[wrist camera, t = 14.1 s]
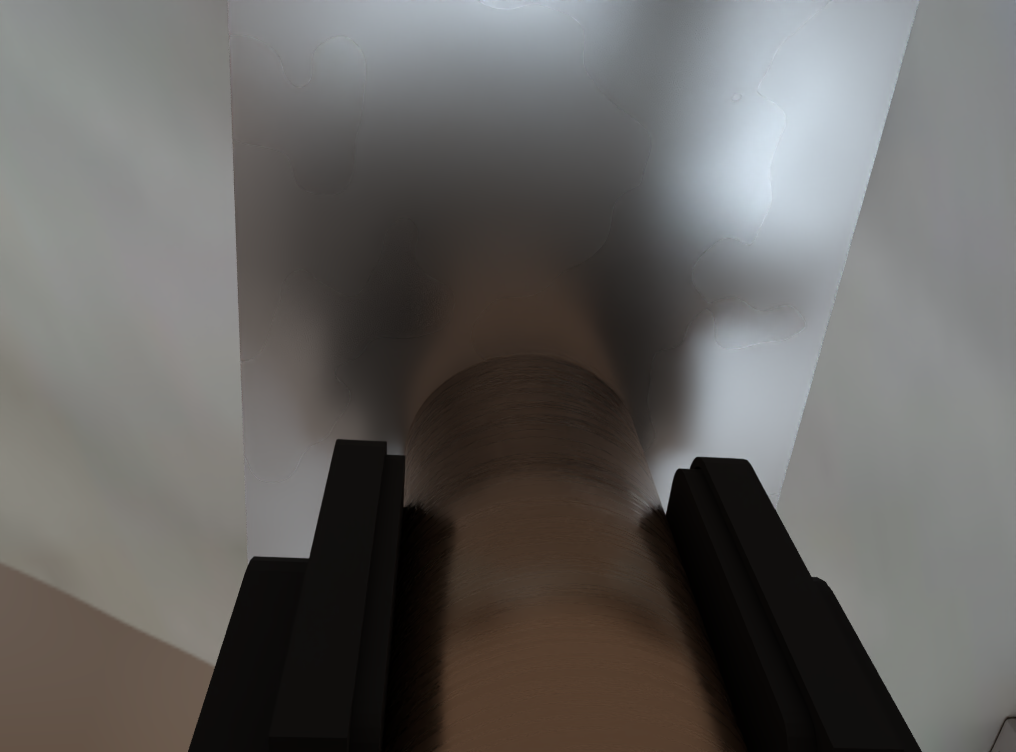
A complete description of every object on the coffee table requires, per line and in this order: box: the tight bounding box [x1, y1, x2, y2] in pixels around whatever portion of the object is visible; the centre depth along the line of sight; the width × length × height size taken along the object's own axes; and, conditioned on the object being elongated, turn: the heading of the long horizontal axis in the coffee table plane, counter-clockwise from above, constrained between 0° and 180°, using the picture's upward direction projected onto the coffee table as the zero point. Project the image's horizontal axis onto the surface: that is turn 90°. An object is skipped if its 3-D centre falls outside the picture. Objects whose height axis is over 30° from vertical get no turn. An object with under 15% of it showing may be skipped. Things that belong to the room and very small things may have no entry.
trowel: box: [227, 0, 920, 752], centre depth 8 cm, size 7×10×8 cm
